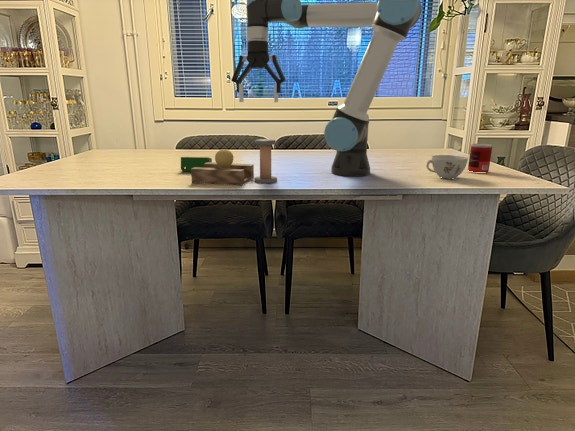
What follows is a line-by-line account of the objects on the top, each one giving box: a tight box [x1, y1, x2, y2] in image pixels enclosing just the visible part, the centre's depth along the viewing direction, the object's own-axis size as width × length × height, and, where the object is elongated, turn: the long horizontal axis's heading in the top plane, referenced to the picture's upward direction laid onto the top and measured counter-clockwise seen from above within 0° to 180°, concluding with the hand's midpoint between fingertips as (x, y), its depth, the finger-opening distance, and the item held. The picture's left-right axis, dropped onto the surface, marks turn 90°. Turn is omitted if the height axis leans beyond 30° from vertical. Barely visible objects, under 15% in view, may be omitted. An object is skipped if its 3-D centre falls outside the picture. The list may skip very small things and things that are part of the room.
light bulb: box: [214, 149, 234, 169], centre depth 142 cm, size 6×6×10 cm
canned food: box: [467, 143, 493, 173], centre depth 161 cm, size 8×8×11 cm
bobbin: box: [253, 138, 278, 185], centre depth 140 cm, size 8×8×14 cm
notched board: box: [190, 162, 255, 187], centre depth 143 cm, size 18×14×5 cm
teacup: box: [426, 154, 469, 179], centre depth 149 cm, size 15×12×8 cm
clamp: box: [180, 156, 213, 173], centre depth 160 cm, size 12×6×9 cm, turn 81°
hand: (258, 102), depth 151 cm, fingers open, 13 cm apart
